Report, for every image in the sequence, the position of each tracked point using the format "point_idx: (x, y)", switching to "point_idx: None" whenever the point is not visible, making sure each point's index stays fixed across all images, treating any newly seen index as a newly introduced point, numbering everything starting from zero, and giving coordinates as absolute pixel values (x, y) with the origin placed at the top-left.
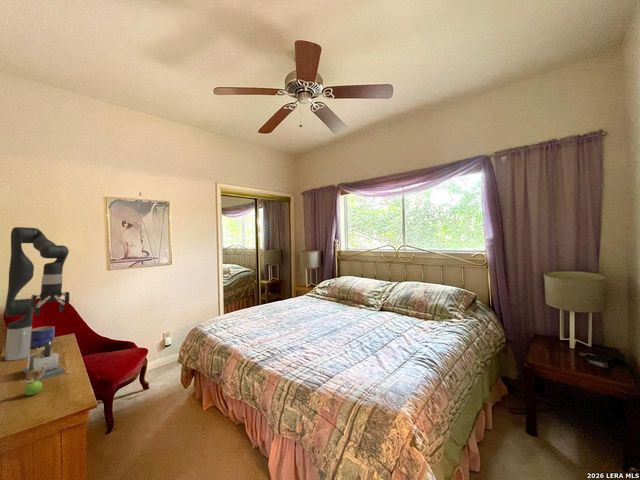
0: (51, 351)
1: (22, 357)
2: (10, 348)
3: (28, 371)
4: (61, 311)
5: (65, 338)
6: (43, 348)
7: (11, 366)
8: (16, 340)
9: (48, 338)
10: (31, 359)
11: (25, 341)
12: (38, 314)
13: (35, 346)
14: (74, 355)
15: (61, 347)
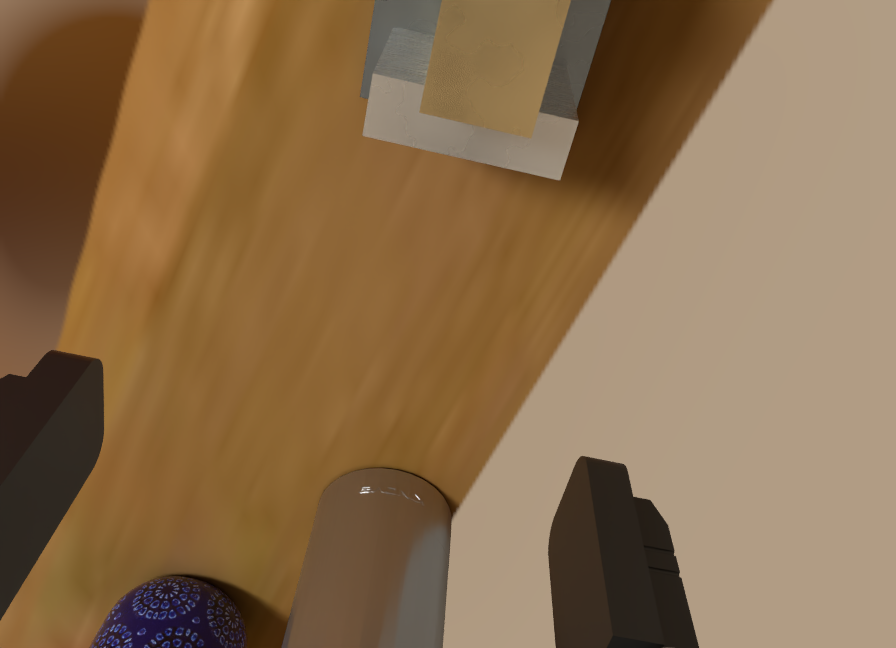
0: (379, 72)
1: (382, 472)
2: (437, 577)
3: (596, 19)
4: (73, 354)
5: (20, 624)
6: (502, 36)
7: (507, 369)
8: (406, 619)
9: (143, 618)
10: (559, 100)
11: (350, 582)
12: (608, 466)
13: (231, 602)
14: (130, 142)
15: (115, 462)
